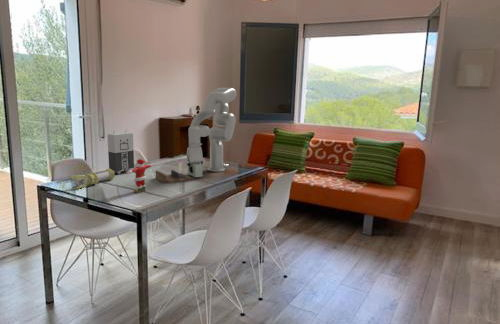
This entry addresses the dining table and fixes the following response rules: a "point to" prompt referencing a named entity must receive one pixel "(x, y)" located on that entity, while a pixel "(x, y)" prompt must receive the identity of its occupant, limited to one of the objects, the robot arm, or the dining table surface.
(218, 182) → the dining table surface
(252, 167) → the dining table surface
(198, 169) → the pale green block
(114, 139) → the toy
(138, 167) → the santa figurine
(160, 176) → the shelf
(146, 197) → the dining table surface
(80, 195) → the dining table surface
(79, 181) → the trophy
